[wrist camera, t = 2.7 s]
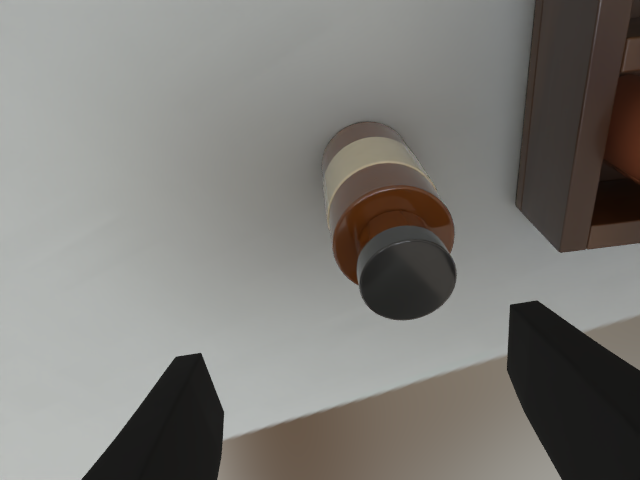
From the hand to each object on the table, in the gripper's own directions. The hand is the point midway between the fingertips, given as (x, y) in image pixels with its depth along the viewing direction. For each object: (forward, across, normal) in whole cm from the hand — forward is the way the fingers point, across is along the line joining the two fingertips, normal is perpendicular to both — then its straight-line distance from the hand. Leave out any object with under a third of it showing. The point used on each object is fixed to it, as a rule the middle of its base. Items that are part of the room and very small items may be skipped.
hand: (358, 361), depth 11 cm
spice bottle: (+10, -2, -1) cm, 10 cm away
